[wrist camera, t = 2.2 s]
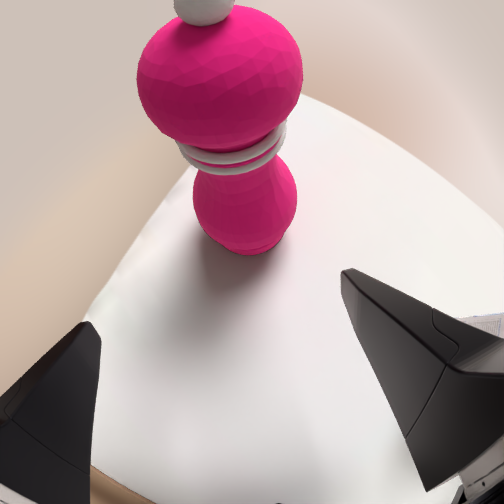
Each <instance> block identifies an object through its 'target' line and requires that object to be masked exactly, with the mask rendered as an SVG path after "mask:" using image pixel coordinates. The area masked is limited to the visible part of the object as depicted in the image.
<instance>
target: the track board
mask: <svg viewBox="0 0 504 504" xmlns="http://www.w3.org/2000/svg"><path fill="white" fill-rule="evenodd" d="M90 504H156V503H154V502H152V501H150V500H148V499H146V498H144V497H142V496H141V495H139V494H137V493H135V492H133V491H131V490H130V489H128V488H126V487H125V486H123V485H121V484H119V483H118V482H116V481H115V480H113V479H111V478H110V477H108V476H107V475H105V474H104V473H102V472H101V471H99V470H98V469H96V468H95V467H93V466H92V465H90Z"/></svg>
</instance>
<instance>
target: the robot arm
mask: <svg viewBox="0 0 504 504" xmlns="http://www.w3.org/2000/svg"><path fill="white" fill-rule="evenodd" d="M341 295H342V298H343V301H344V304H345V306H346V309H347V312H348V314H349V317H350V320H351V323H352V325H353V328H354V331H355V333H356V336H357V338H358V340H359V342H360V344H361V346H362V348H363V350H364V352H365V354H366V356H367V358H368V360H369V362H370V364H371V366H372V368H373V370H374V372H375V374H376V377H377V379H378V381H379V383H380V385H381V387H382V389H383V391H384V394H385V396H386V398H387V400H388V402H389V404H390V407H391V409H392V411H393V413H394V416H395V418H396V420H397V422H398V425H399V427H400V429H401V431H402V434H403V436H404V438H405V441H406V444H407V446H408V448H409V451H410V453H411V456H412V458H413V460H414V463H415V465H416V468H417V470H418V473H419V476H420V478H421V481H422V483H423V486H424V488H425V491H426V492H428V491H430V490H432V489H434V488H436V487H438V486H440V485H442V484H444V483H445V482H447V481H449V480H451V479H452V478H454V477H456V476H457V475H459V476H460V479H461V481H462V485H461V486H459V488H458V490H457V492H456V495H455V497H454V499H453V501H452V503H451V504H504V338H501V337H498V336H495V335H493V334H491V333H488V332H486V331H483V330H481V329H478V328H476V327H474V326H471V325H469V324H466V323H464V322H462V321H459V320H457V319H455V318H453V317H451V316H449V315H447V314H445V313H443V312H441V311H439V310H437V309H435V308H433V309H432V307H431V306H429V305H427V304H425V303H423V302H421V301H419V300H417V299H415V298H413V297H411V296H409V295H407V294H405V293H403V292H401V291H399V290H397V289H395V288H393V287H391V286H389V285H387V284H385V283H383V282H381V281H379V280H377V279H375V278H372V277H370V276H368V275H366V274H364V273H362V272H360V271H358V270H356V269H354V268H351V269H347V270H343V271H342V272H341ZM100 355H101V338H100V336H99V334H98V333H97V331H96V330H95V328H94V327H93V325H92V324H91V323H90V322H89V321H86V322H80V323H79V324H78V325H76V326H75V327H74V328H73V329H72V330H71V331H70V332H69V333H67V334H66V335H65V336H64V337H63V338H62V339H61V340H60V341H59V342H58V343H56V345H54V346H53V347H52V348H51V349H50V350H49V351H48V352H47V353H46V354H45V355H43V356H42V357H41V358H40V359H39V360H38V361H37V362H36V363H35V364H34V365H33V366H32V367H31V368H30V369H29V370H28V371H27V372H26V373H25V374H24V375H23V376H22V377H20V378H19V379H18V380H17V382H15V383H14V384H13V385H12V386H11V387H10V388H9V389H8V390H7V391H6V392H5V393H4V394H3V395H2V396H1V397H0V504H90V465H91V445H92V432H93V421H94V412H95V403H96V395H97V388H98V381H99V370H100ZM277 504H281V503H277Z"/></svg>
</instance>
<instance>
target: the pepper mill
mask: <svg viewBox="0 0 504 504" xmlns="http://www.w3.org/2000/svg"><path fill="white" fill-rule="evenodd" d="M234 1H235V0H174V9H175V11H176V13H177V15H178V17H176V18H174V19H172V20H171V21H170V22H169V23H167V24H166V25H165V26H163V27H162V28H161V29H160V30H158V31H157V32H156V33H155V35H154V36H153V37H152V38H151V39H150V41H149V42H148V43H147V45H146V47H145V48H144V50H143V52H142V55H141V58H140V60H139V63H138V70H137V87H138V93H139V97H140V100H141V103H142V106H143V108H144V110H145V112H146V114H147V116H148V117H149V118H150V119H151V121H152V122H153V123H154V124H155V125H156V126H157V127H158V129H159V130H160V131H161V132H162V133H164V134H165V135H167V136H169V137H171V138H173V139H174V140H175V142H176V143H177V145H178V146H179V149H180V151H181V153H182V155H183V157H184V158H185V159H186V160H187V161H188V162H189V163H190V164H192V165H193V166H194V167H196V168H198V172H197V175H196V178H195V180H194V186H193V206H194V209H195V212H196V215H197V218H198V220H199V223H200V225H201V226H202V228H203V229H204V231H205V232H206V233H207V234H208V235H209V236H210V237H211V238H212V239H214V240H215V241H217V242H218V243H220V244H222V245H223V246H224V247H225V248H227V249H228V250H230V251H232V252H234V253H237V254H240V255H257V254H261V253H263V252H265V251H268V250H269V249H271V248H272V247H274V246H275V245H276V244H277V243H278V242H279V241H280V239H281V238H282V236H283V234H284V232H285V231H286V229H287V228H288V227H289V225H290V224H291V222H292V220H293V218H294V215H295V212H296V206H297V190H296V184H295V181H294V178H293V176H292V174H291V172H290V170H289V169H288V167H287V165H286V164H285V163H284V162H283V160H282V159H281V158H280V157H279V156H278V155H277V154H276V153H277V152H278V151H279V150H280V148H281V146H282V144H283V142H284V139H285V135H286V122H287V117H288V115H289V114H290V112H291V111H292V110H293V108H294V107H295V105H296V104H297V101H298V98H299V95H300V91H301V87H302V82H303V68H302V59H301V55H300V51H299V48H298V46H297V44H296V41H295V40H294V39H293V37H292V36H291V34H290V33H289V32H288V31H287V29H286V28H285V27H284V26H283V25H282V24H281V23H279V22H278V21H277V20H275V19H274V18H272V17H271V16H269V15H267V14H265V13H263V12H261V11H259V10H256V9H253V8H249V7H245V6H239V5H234Z"/></svg>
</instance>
